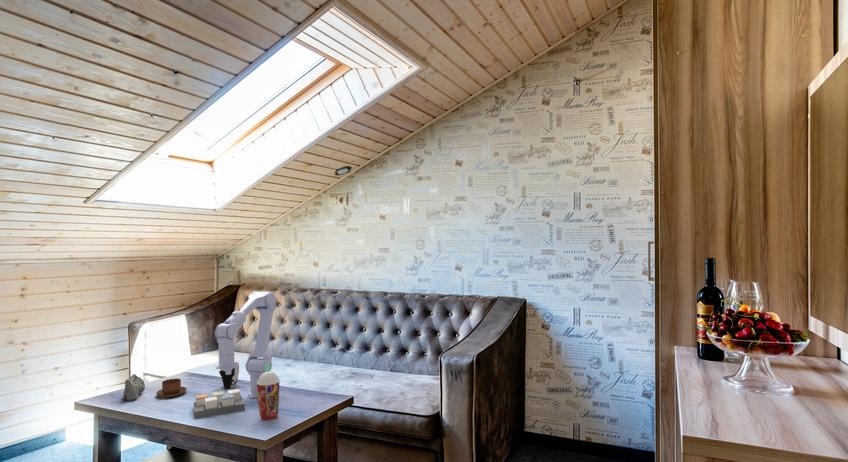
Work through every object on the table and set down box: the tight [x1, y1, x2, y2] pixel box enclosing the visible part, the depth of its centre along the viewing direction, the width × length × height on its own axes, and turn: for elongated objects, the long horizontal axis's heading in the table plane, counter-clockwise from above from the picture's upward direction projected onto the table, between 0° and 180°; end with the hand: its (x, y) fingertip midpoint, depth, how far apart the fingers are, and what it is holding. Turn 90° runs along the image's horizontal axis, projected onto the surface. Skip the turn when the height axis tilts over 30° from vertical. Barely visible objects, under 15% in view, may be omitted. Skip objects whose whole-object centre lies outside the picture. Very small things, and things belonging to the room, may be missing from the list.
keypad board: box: [193, 394, 246, 419], centre depth 202 cm, size 18×12×2 cm
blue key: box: [221, 394, 234, 407], centre depth 200 cm, size 4×4×4 cm
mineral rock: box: [122, 373, 146, 401], centre depth 221 cm, size 13×11×10 cm
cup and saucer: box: [155, 378, 188, 398], centre depth 222 cm, size 12×12×6 cm
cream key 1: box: [205, 396, 217, 410], centre depth 198 cm, size 4×4×4 cm
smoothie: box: [257, 364, 281, 421], centre depth 191 cm, size 8×8×20 cm
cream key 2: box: [227, 388, 241, 400], centre depth 207 cm, size 4×4×4 cm
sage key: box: [211, 390, 225, 403], centre depth 204 cm, size 4×4×4 cm
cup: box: [221, 361, 240, 388], centre depth 232 cm, size 8×8×10 cm
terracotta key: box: [195, 393, 209, 406], centre depth 202 cm, size 4×4×4 cm
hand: (227, 388), depth 200 cm, fingers closed
